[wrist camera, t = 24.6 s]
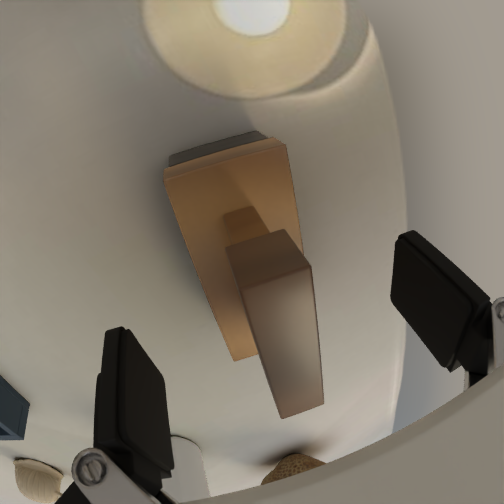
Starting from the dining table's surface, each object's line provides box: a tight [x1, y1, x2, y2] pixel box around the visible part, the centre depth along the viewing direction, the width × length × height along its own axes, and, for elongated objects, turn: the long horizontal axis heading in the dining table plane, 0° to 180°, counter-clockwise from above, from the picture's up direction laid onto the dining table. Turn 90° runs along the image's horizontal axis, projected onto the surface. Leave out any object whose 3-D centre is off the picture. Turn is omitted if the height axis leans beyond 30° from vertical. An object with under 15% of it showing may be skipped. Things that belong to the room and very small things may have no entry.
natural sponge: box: [261, 454, 327, 485], centre depth 29 cm, size 9×9×10 cm
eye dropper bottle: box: [162, 436, 210, 503], centre depth 21 cm, size 4×6×12 cm
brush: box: [163, 131, 324, 419], centre depth 13 cm, size 10×4×8 cm, turn 13°
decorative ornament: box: [13, 459, 64, 503], centre depth 23 cm, size 4×8×5 cm, turn 60°
